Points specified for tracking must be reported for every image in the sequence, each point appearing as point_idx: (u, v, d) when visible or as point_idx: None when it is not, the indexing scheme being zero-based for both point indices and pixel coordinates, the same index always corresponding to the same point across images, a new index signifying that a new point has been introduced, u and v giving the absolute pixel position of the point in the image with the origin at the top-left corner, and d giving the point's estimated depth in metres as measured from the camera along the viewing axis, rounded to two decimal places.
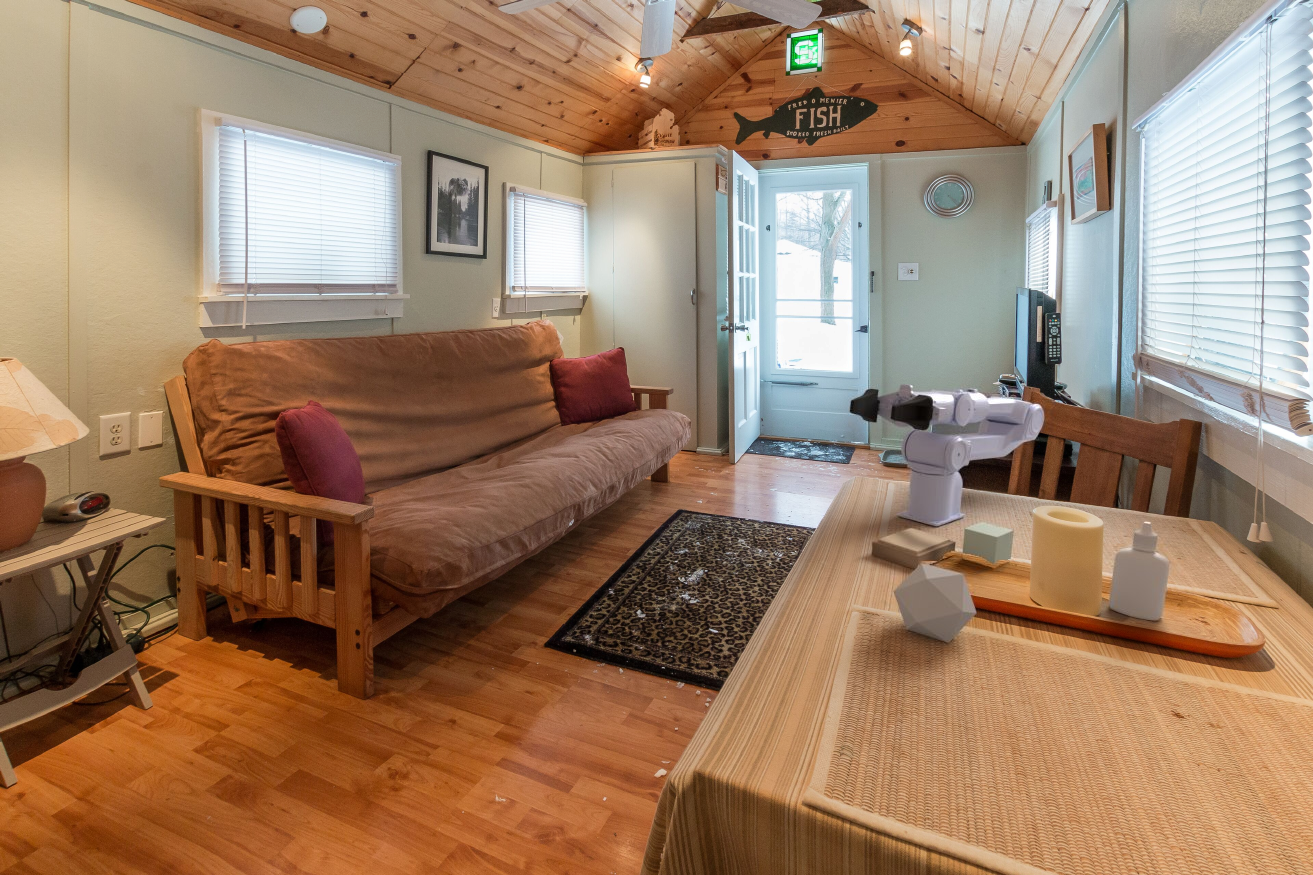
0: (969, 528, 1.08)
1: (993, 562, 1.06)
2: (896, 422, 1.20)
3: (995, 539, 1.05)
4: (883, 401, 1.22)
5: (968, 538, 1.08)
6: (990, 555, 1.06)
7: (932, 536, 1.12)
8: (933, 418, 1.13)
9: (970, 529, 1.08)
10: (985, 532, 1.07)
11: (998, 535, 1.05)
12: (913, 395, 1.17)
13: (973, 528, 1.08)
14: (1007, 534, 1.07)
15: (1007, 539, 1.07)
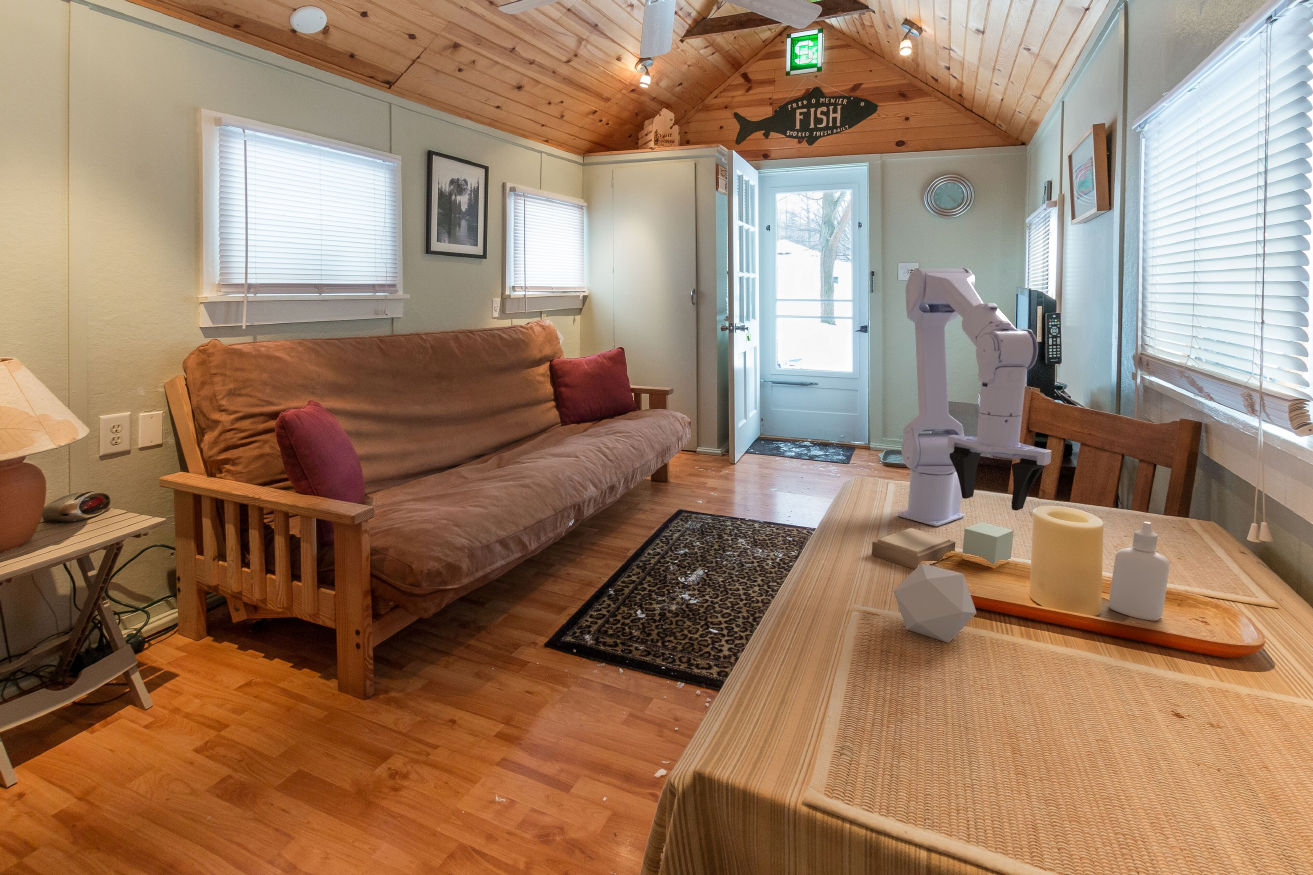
0: (969, 528, 1.08)
1: (993, 562, 1.06)
2: None
3: (995, 539, 1.05)
4: None
5: (968, 538, 1.08)
6: (990, 555, 1.06)
7: (932, 536, 1.12)
8: None
9: (970, 529, 1.08)
10: (984, 532, 1.07)
11: (998, 535, 1.05)
12: (1000, 452, 1.03)
13: (973, 528, 1.08)
14: (1007, 534, 1.07)
15: (1007, 539, 1.07)
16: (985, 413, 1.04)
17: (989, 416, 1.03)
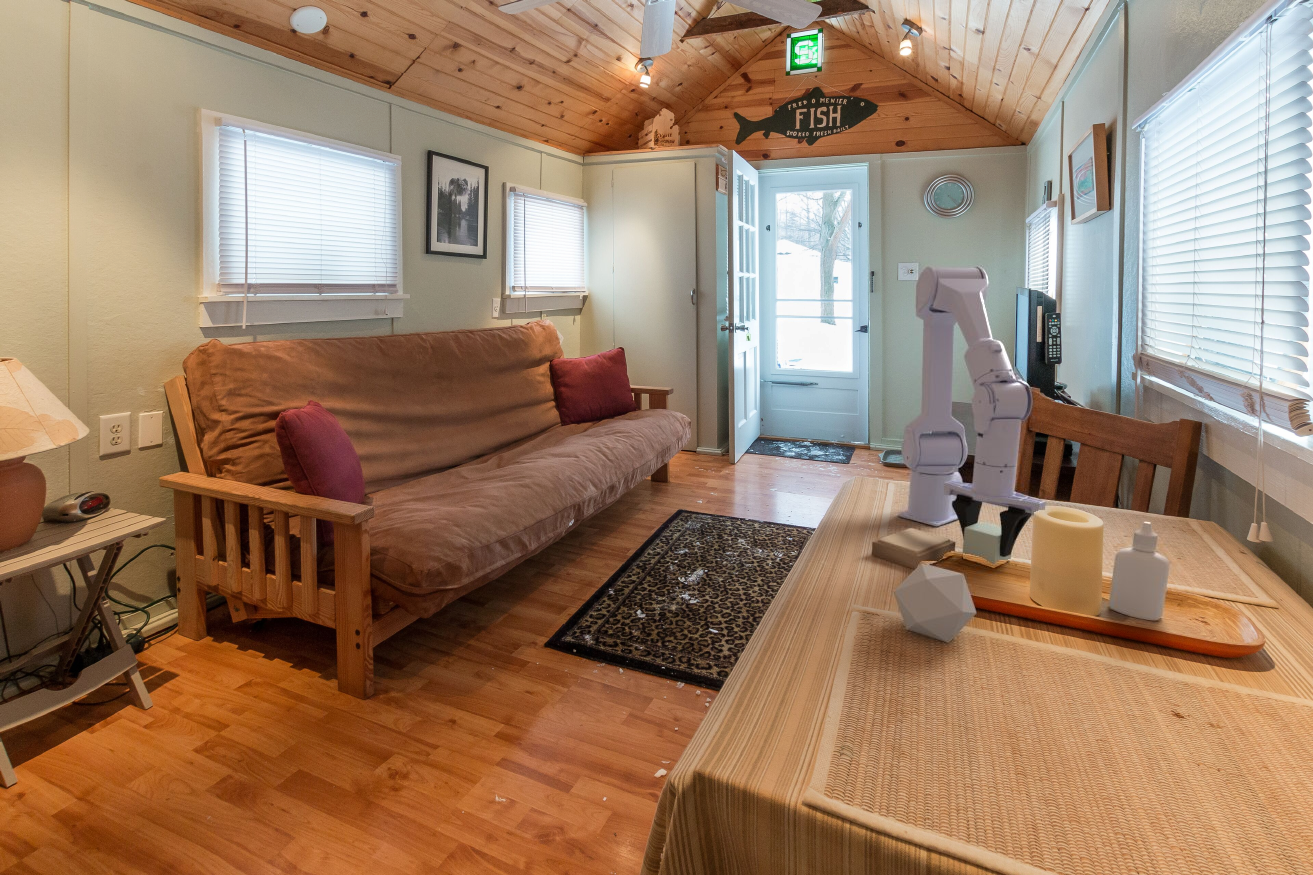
0: (969, 527, 1.08)
1: (993, 561, 1.05)
2: None
3: (995, 538, 1.05)
4: None
5: (968, 537, 1.08)
6: (990, 554, 1.06)
7: (932, 536, 1.12)
8: None
9: (970, 528, 1.08)
10: (985, 531, 1.07)
11: (998, 534, 1.05)
12: (995, 501, 1.04)
13: (973, 527, 1.08)
14: None
15: None
16: (980, 463, 1.05)
17: (984, 466, 1.04)
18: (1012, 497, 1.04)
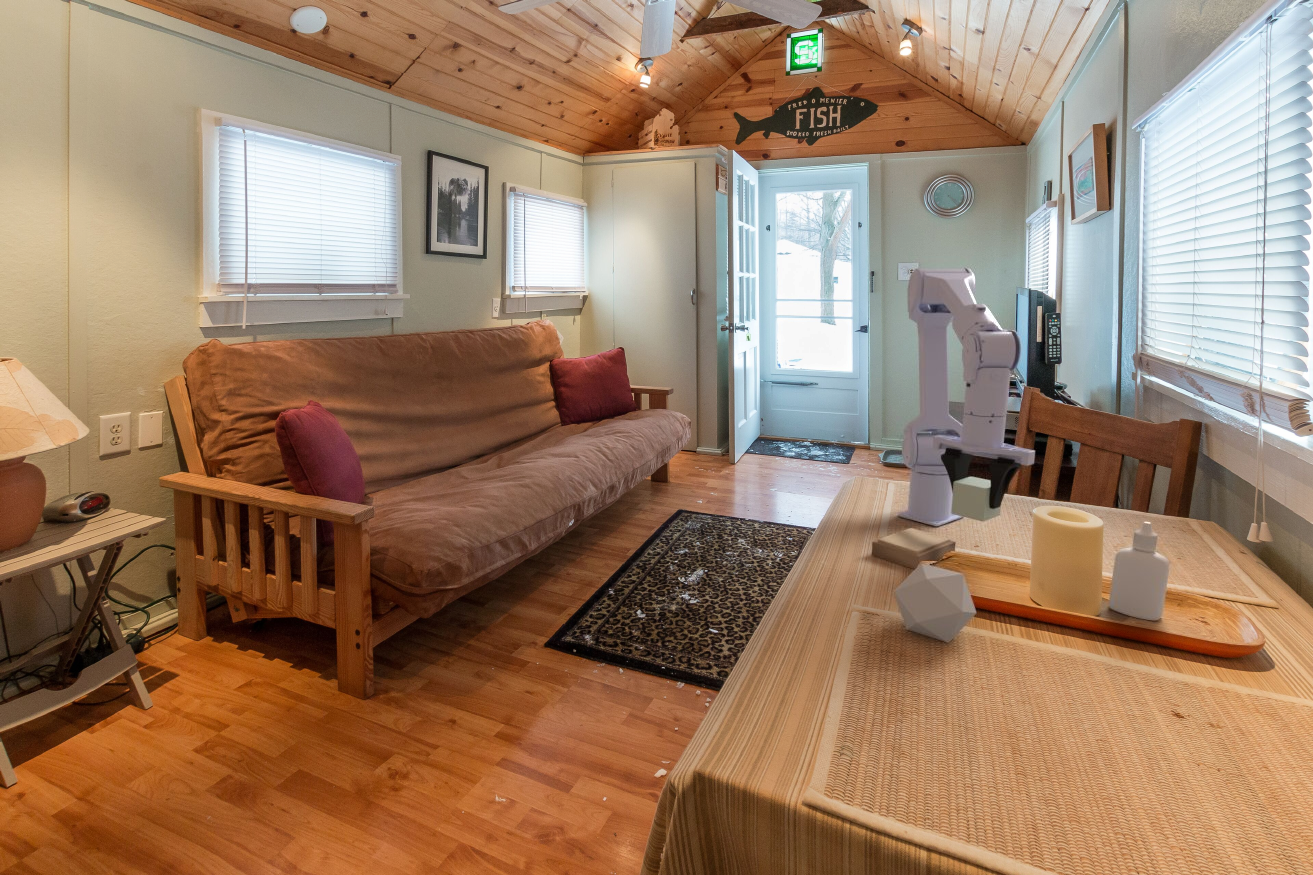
0: (958, 481, 1.07)
1: (982, 514, 1.04)
2: None
3: (984, 491, 1.04)
4: None
5: (957, 491, 1.07)
6: (979, 507, 1.05)
7: (932, 536, 1.12)
8: None
9: (959, 482, 1.07)
10: (974, 484, 1.06)
11: (987, 487, 1.04)
12: (984, 452, 1.03)
13: (962, 481, 1.07)
14: None
15: None
16: (969, 413, 1.04)
17: (973, 416, 1.03)
18: (1001, 448, 1.03)
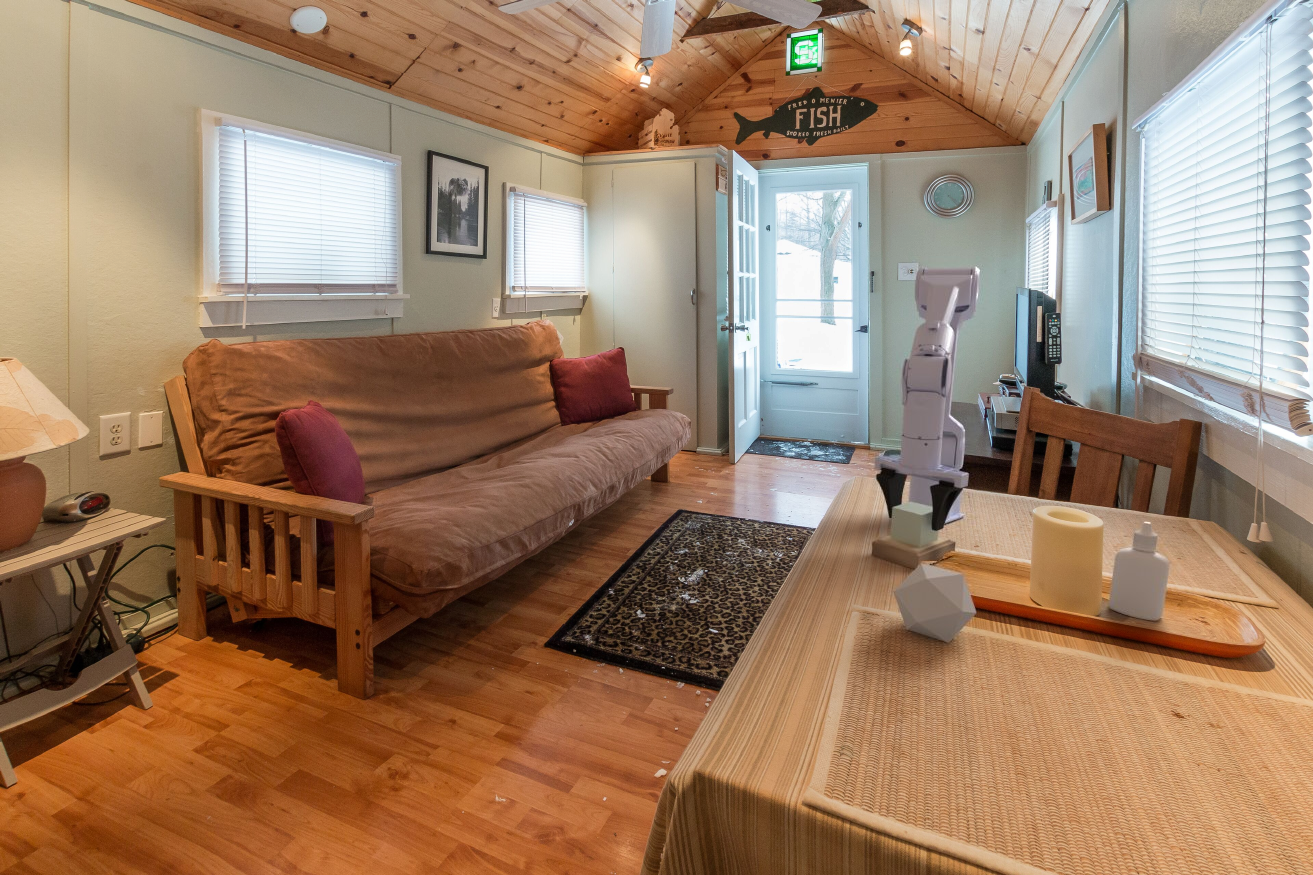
0: (897, 507, 1.10)
1: (919, 540, 1.07)
2: None
3: (920, 517, 1.06)
4: None
5: (895, 516, 1.10)
6: (916, 533, 1.07)
7: None
8: None
9: (897, 507, 1.09)
10: (911, 510, 1.08)
11: (923, 513, 1.07)
12: (920, 474, 1.05)
13: (901, 507, 1.10)
14: None
15: None
16: (906, 436, 1.06)
17: (910, 439, 1.06)
18: (937, 470, 1.06)
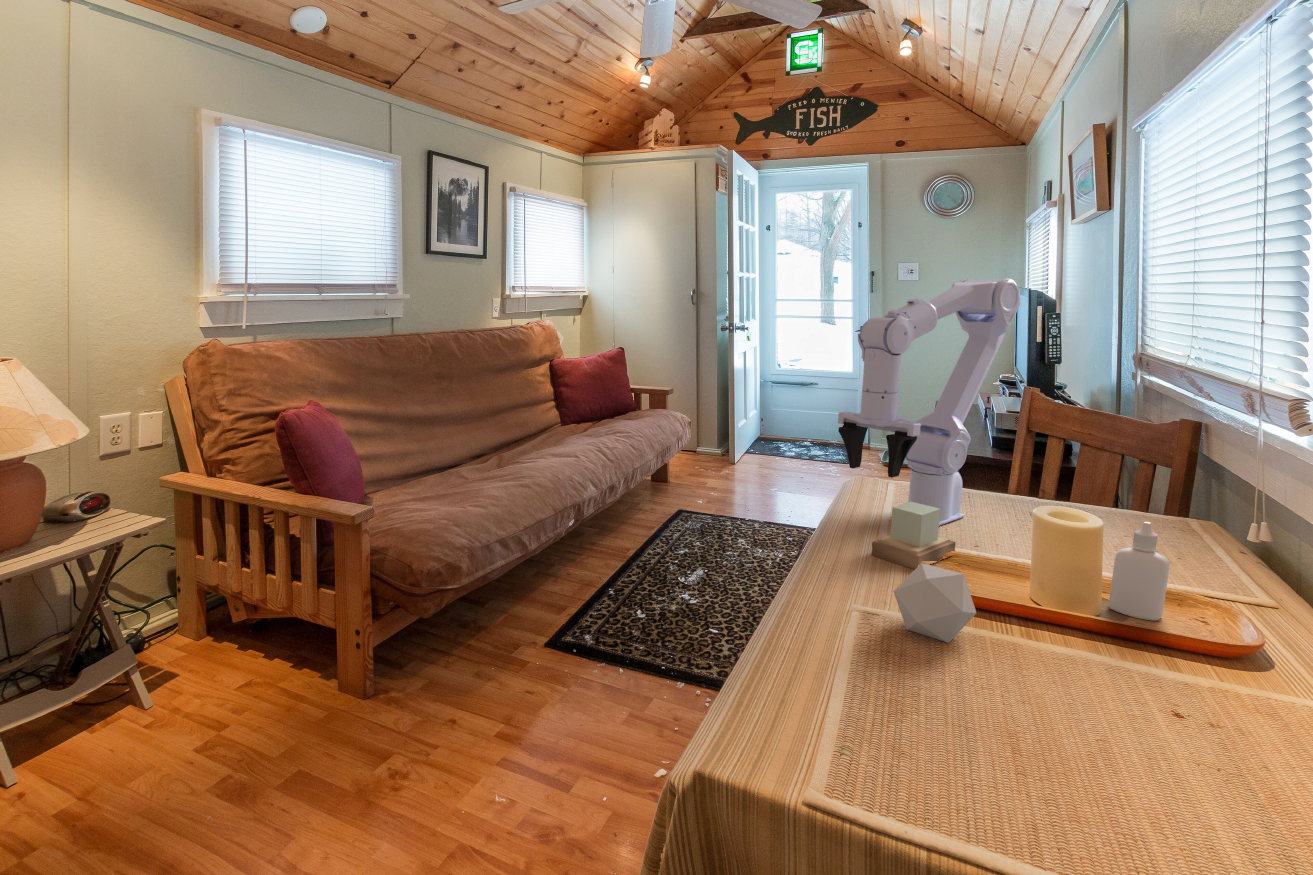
0: (897, 507, 1.10)
1: (919, 540, 1.07)
2: None
3: (920, 517, 1.06)
4: None
5: (895, 516, 1.10)
6: (916, 533, 1.07)
7: None
8: None
9: (897, 507, 1.09)
10: (911, 510, 1.08)
11: (923, 513, 1.07)
12: None
13: (901, 507, 1.10)
14: (933, 512, 1.08)
15: (933, 518, 1.08)
16: (865, 390, 1.17)
17: (868, 393, 1.16)
18: (893, 421, 1.16)
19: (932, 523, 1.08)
